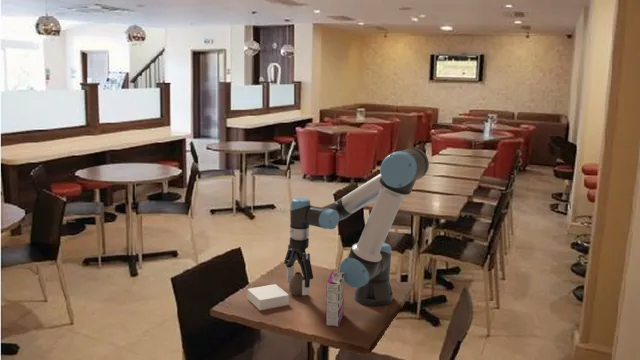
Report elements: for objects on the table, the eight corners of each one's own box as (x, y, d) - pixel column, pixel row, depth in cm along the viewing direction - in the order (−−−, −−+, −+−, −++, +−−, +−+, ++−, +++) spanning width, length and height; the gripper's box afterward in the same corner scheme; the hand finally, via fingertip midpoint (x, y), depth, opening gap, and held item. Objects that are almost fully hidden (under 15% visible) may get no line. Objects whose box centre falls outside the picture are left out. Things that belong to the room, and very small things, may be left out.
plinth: (288, 304, 221) (288, 294, 220) (259, 310, 215) (259, 300, 214) (275, 293, 231) (275, 284, 230) (247, 298, 225) (247, 288, 224)
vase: (308, 291, 234) (309, 271, 232) (303, 298, 227) (303, 277, 225) (292, 289, 236) (292, 269, 234) (286, 295, 229) (287, 274, 227)
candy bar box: (330, 312, 215) (331, 270, 212) (344, 314, 214) (345, 272, 211) (324, 325, 204) (325, 281, 201) (338, 327, 203) (340, 283, 200)
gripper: (276, 229, 235) (275, 279, 240) (305, 247, 214) (304, 301, 219) (293, 227, 239) (291, 276, 243) (323, 245, 218) (321, 298, 222)
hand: (297, 288), depth 231 cm, fingers open, 13 cm apart
